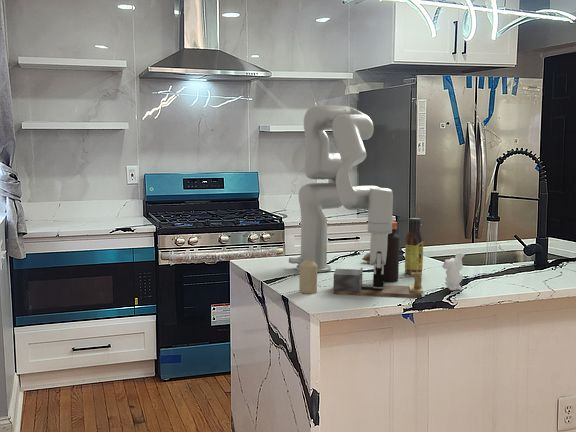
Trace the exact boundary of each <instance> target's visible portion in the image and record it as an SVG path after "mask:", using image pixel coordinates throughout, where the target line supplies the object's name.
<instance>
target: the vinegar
mask: <svg viewBox="0 0 576 432" xmlns="http://www.w3.org/2000/svg"><path fill="white" fill-rule="evenodd" d="M397 231H398V222H397V221H393V220H392V233H390V234H388V246H387V257H386V263H385V265H384V282H385V283H393V282H394V283H395V282H398V281H399V268H400V267H399V266H400V264H399V263H400V240H401V239H400V236H399V234H397Z"/></svg>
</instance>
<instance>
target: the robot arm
mask: <svg viewBox="0 0 576 432" xmlns="http://www.w3.org/2000/svg"><path fill="white" fill-rule="evenodd" d="M374 130H375V129H374V123H373V121H372V119H371V118H370V116H368V115H367V114H365V113H363V112H362V111H360V110H358V109H356V108H354V107H351V106H347V105H332V104H330V105H325V104H322V105H321V104H320V105H314V106H310V107H309V108H308V109H307V110H306V112H305V114H304V117H303V131H304V136H305V145H304V146H305V150H304V175H305V177H307V178H308V179H310V180H328V182H311V183H305V184H304V185H302V186H301V187H300V189H299V190H298V203H299V210H300V256H297V257H288V263H289V264H297V265H296V267H295V268H296V270H297V271H299V272H300V264H301V263H303V262H304V261H305V260H310V261H314V262H315V263H316V264H317V273H326V272H330V271H331V270H332V268H331V265H329V264H327V261H328V260H327V259H328V258H327V257H328V253H327V251H328V220H327V218H326V216H325V213H324V212H323V211H322V210H329V209H331V210H332V209H339V208H341V207H342V206H343V208H344V209H346V210H350V211H356V210H367V211H368V212H367V233H369V234H370V241H369V242H370V243H369V245H370V246H369V248H370V249H369V253H370V261H369V264H370V265H371V266H372V265H373V274H372V275H373V277H372V278H373V279H372V285H373V287H383V285H385V284H384V274H383V264H384V265H385V263H386V257H387V246H388V234H390V233H392V221H393V208H394V201H393V199H394V193H393V190H392V189H390V188H387V187H380V186H377V185H353V184H352V182H351V177H350V170H351V168H353V167H356V166H357V165H359V164H361V163H363V162H364V161H365V159H366V158H367V151H366V148H365V145H364V142H363V140H364V141H365V140H366V141H367V140H369V139H371V138H372V136H373V134H374ZM326 131H332V135H333V137H334V141H335V144H336V147H337V150H338V152H330V138H329V137H328V134H327V133H326ZM381 264H382V265H381ZM376 266H377V267H376ZM381 267H382V268H381Z"/></svg>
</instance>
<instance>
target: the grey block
mask: <svg viewBox="0 0 576 432" xmlns="http://www.w3.org/2000/svg"><path fill="white" fill-rule="evenodd" d="M381 265H382V264H381ZM376 267H377V266H376ZM381 268H382V267H381ZM383 274H384V264H383ZM361 288H369V289H383V287H373V284H365V283H362V286H361Z"/></svg>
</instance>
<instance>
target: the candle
mask: <svg viewBox="0 0 576 432" xmlns="http://www.w3.org/2000/svg"><path fill="white" fill-rule="evenodd" d="M298 282H299V283H298V284H299V287H298V289H299V293H301V294H307V295H309V294H316V293H317V292H318V272H317V264H316V263H315V262H314V261H310V260H305V261H304V262H303V263H301V264H300V271H299V281H298Z"/></svg>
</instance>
